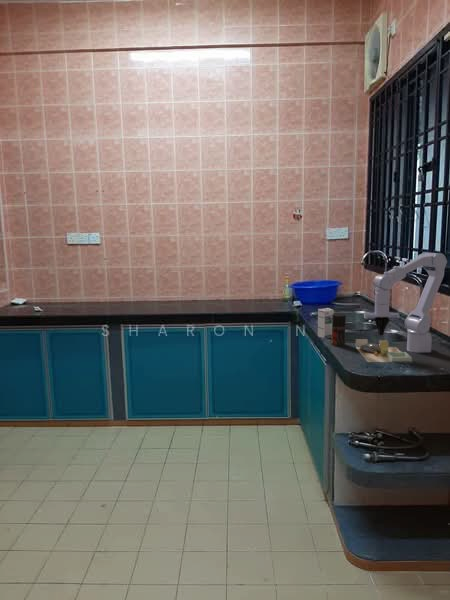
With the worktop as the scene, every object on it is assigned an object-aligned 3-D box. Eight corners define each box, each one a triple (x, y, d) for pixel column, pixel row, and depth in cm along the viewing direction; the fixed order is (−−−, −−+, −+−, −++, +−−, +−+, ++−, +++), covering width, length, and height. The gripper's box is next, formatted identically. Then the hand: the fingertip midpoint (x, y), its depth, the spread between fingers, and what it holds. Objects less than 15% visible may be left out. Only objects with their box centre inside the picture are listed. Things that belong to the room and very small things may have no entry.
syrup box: (324, 339, 217) (324, 310, 215) (317, 336, 223) (317, 308, 220) (333, 337, 219) (334, 309, 217) (326, 335, 225) (327, 307, 222)
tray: (405, 356, 185) (405, 352, 184) (411, 362, 177) (411, 357, 177) (386, 356, 185) (386, 352, 185) (392, 361, 178) (392, 357, 177)
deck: (395, 348, 199) (395, 346, 198) (412, 363, 177) (413, 361, 177) (355, 348, 200) (355, 346, 200) (367, 363, 178) (367, 361, 178)
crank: (353, 346, 200) (353, 336, 199) (380, 346, 199) (381, 336, 198) (359, 354, 187) (359, 344, 187) (388, 354, 186) (388, 344, 185)
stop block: (385, 353, 189) (386, 340, 188) (388, 355, 186) (388, 342, 185) (378, 353, 189) (379, 340, 188) (380, 355, 186) (381, 342, 185)
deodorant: (346, 347, 202) (347, 316, 199) (334, 348, 201) (334, 316, 199) (342, 344, 207) (343, 313, 205) (329, 344, 207) (330, 313, 204)
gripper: (395, 301, 189) (393, 331, 191) (361, 302, 189) (360, 332, 191) (402, 304, 182) (400, 335, 184) (367, 305, 182) (366, 336, 184)
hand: (380, 334), depth 187 cm, fingers closed
